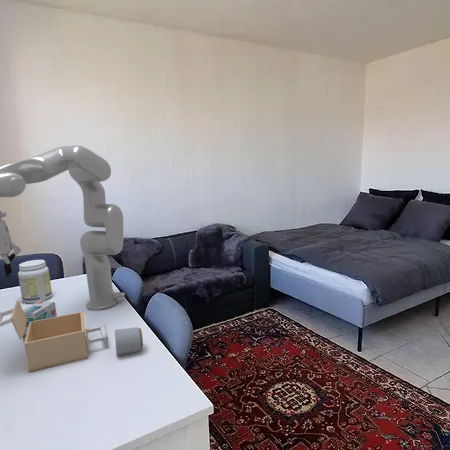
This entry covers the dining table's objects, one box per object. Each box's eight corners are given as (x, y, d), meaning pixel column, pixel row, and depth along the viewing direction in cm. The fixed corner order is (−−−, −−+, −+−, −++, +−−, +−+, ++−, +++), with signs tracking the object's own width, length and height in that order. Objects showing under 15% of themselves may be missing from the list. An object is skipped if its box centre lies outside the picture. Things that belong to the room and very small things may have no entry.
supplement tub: (44, 292, 171) (39, 257, 168) (57, 296, 164) (52, 261, 160) (17, 300, 161) (11, 264, 158) (30, 306, 154) (24, 268, 151)
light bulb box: (39, 343, 121) (34, 313, 119) (22, 342, 123) (17, 312, 121) (59, 328, 131) (55, 300, 129) (43, 327, 133) (39, 300, 131)
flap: (22, 338, 103) (-3, 348, 101) (27, 319, 116) (5, 328, 114) (12, 317, 101) (-13, 326, 99) (18, 300, 114) (-4, 308, 112)
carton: (105, 331, 127) (102, 307, 126) (110, 352, 113) (107, 325, 111) (33, 347, 119) (29, 321, 117) (28, 372, 104) (23, 343, 102)
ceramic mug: (144, 353, 111) (142, 330, 110) (117, 360, 109) (114, 336, 107) (140, 339, 121) (138, 317, 120) (115, 344, 118) (112, 322, 117)
